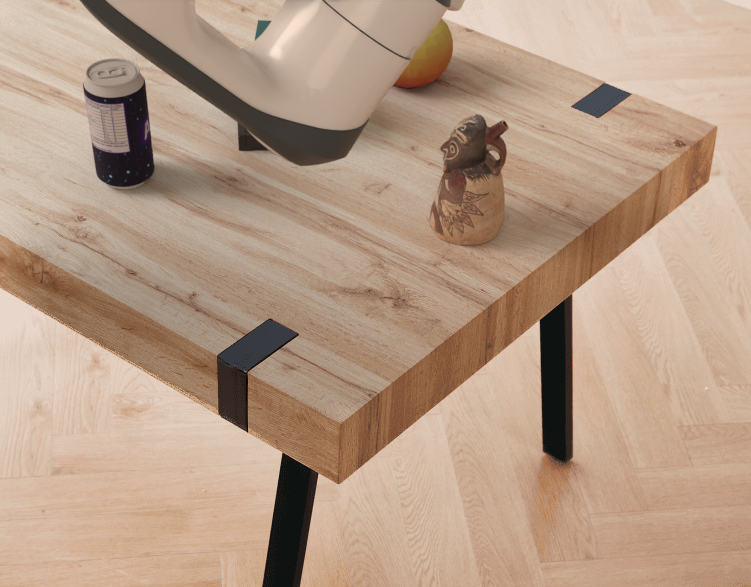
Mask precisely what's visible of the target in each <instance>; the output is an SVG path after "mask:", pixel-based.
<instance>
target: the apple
mask: <svg viewBox="0 0 751 587" xmlns="http://www.w3.org/2000/svg"><path fill="white" fill-rule="evenodd" d="M453 51H454V40H453V36H452V32H451V29H450V28H449V25H448V24H447V23H446V22H445V20H444V19H443V17H442V18H441V20H440V21H439V22H438V24H437V25H436V27H435V28H434V29H433V31H432V32H431V33H430V35H429V36H428V38H427V39H426V40H425V42H424V43H423V44H422V46H421V47H420V48H419V50H418V51H417V52H416V54H415V55H414V56H413V58H412V60H411V62H410V63H409V64H408V66H407V67H406V68H405V70H404V71H403V73H402V74H401V75H400V77H399V78H398V79H397V81H396V82H395V83H394V85H393V86H395V87H396V86H397V87H400V88H401V87H402V88H406V89H407V88H408V89H410V88H421V87H424V86H428V85H430V84H432V83H434V82H435V81H436V80H438V79H439V78H440V77H441V76H442V75H443V74H444V72H445V71H446V70H447V68H448V67H449V65H450V62H451V61H452V58H453V56H452V55H453Z"/></svg>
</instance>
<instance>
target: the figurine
mask: <svg viewBox="0 0 751 587" xmlns="http://www.w3.org/2000/svg"><path fill="white" fill-rule="evenodd" d="M508 130H509V125H508V123H507V122H506V120H504V119H503V120H500V121H498V122H497V123H495V124H494V125H492V126H489V125H488V124H487V122H486V119H485V118H484V116H482V115H481V114H478V113H476V114H473V115H470V116H468V117H466V118H463V119H462V120H460V122H458V123H457V124H456V126H454V128H453V129H452V131H451V132H450V136H449V138H448V140H446V141H445V142H444V143H443V144H442V145H441V146H440V148H439V149H440V150H439V151H441V152H442V154H443V157H442V165H443V166H442V169H441V170H442V171H441V172H442V176H441V177H440V181H439V185H438V188H437V192H436V195H435V197H434V199H433V202H432V205H431V206H430V213H429V217H428V220H427V221H428V223H429V225H430V226H431V230H433V232H434V234H435V235H436V237H437V238H439V239H440V240H442V241H444V242H447V243H449V244H453V245H457V246H474V245H481V244H484V243H485V244H486V243H488V242H489V241H492V240H494V239H495V238H496V237H497V236H498V235H499V233H500V232H501V228H502V226H503V223H504V219H505V212H506V202H505V201H506V199H505V198H506V197H505V187H504V178H503V173H502V169H503V168H504V166H505V164H506V161H507V154H508V151H507V144H506V143H505V140H504V139H503V137H502V135H503V134H504V133H506V132H507V131H508ZM491 151H493V152H496V153H497V154H498V156H499V158H498V159H496V158H495V157H494V155H493V154H492V153H491Z"/></svg>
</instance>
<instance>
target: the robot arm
mask: <svg viewBox="0 0 751 587" xmlns="http://www.w3.org/2000/svg"><path fill="white" fill-rule="evenodd" d="M79 2H80V3H81V4H82V5H83V6H84V8H85V9H86V10H87V12H89V13H90V14H91V15H92V16H93V17H94V19H96V20H97V21H98V22H99V23H100V25H102V26H103V27H104V28H106V29H107V30H108V31H109V32H110V33H112V34H113V36H115V37H116V38H118V39H119V40H120V41H121V42H123V43H124V44H126V45H127V46H128V47H130V49H132V50H133V51H134V52H136V53H137V54H138V55H140V56H142V58H144V59H145V60H147V61H148V62H150V64H152V65H154V66H155V67H156V68H158V69H160V70H161V71H162V72H163V73H165V74H167V75H168V76H170V77H171V78H173V79H174V80H175V81H177V82H178V83H180V84H182V85H183V86H184V87H185V88H187V89H188V90H190V91H192V92H193V93H194V94H196V95H197V96H199V97H201V98H202V99H203V100H204V101H206V102H208V103H209V104H210V105H212V106H214V107H215V108H217V109H218V111H221V112H222V113H223V114H225V115H227V116H228V117H229V118H230V119H233V120H234V121H235V122H236V123H237V122H238V123H239V124H241V125H242V126H243V127H244V128H246V129H247V131H248V132H249V133H250V134H251V135H252V136H253V137H254V138H255V139H256V140H258V141H259V142H260V143H261V144H262V145H263V146H265V147H266V148H267V149H268V150H267V151H270V152H271V153H273V154H274V155H276V156H278V157H280V158H281V159H283V160H286V161H288V162H291V163H292V164H294V165H296V166H299V167H309V166H317V165H323V164H329V163H332V162H335V161H339V160H343V159H345V158H346V157H347V156H348V155H349V153H350V152H351V151H352V148H353V147H354V145H355V144H356V142H357V141H358V139H359V137H360V136H361V134H362V132H363V131H364V129H365V128H366V126H367V124H368V123H369V121H370V117H371V116H372V115H373V113H374V112H375V110H376V109H377V108H378V106H379V105H380V104H381V102H382V101H383V100H384V98H385V97H386V96H387V94H388V93H389V91H390V90H391V89H392V87H393V86H395V85H394V83H395V82H396V81H397V79H398V78H399V77H400V75H401V74H402V73H403V71H404V70H405V68H406V67H407V66H408V64H409V63H410V62H411V60H412V58H413V56H414V55H415V54H416V52H417V51H418V50H419V48H420V47H421V46H422V44H423V43H424V42H425V40H426V39H427V38H428V36H429V35H430V33H431V32H432V31H433V29H434V28H435V27H436V25H437V24H438V22H439V21H440V20H441V18H442V19H443V17H444V16H445V14H446V12H447V11H451V12H458V11H460V10H461V9H462V8H463V5H464V3H465V0H285V1H284V2H283V4H282V5H281V7H280V8H279V10H278V11H277V13H276V14H275V15H274V17H273V19H272V20H270V21H271V23H270V24H269V26H268V27H267V28H266V30H265V31H264V32H263V33H262V34H261V35H260V36H259V37H258V38H257V39H256V40H255V39H254V40H253V41H252V42H251V43H250V44H248V45H246V46H243V47H240V46H239V45H238V44H237V43H235V42H234V41H232V40H231V39H230V38H229V37H227V36H226V35H225V34H223V33H222V32H221V31H220V30H218V29H217V28H216V27H214V26H213V25H212V24H211V23H210V22H208V21H207V20H205V19H204V18H203V17H202V16H200V15H199V14H198V13H197V11H196V0H79ZM238 123H237V124H238Z"/></svg>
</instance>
